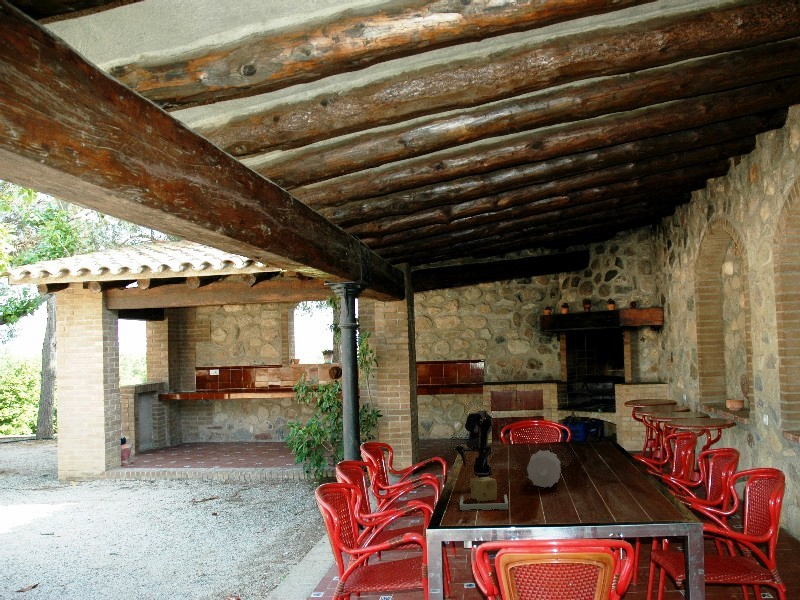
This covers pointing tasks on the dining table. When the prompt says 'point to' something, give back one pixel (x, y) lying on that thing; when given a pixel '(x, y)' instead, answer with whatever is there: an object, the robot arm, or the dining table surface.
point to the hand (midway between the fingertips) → (473, 466)
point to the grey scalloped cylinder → (544, 469)
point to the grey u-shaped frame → (484, 505)
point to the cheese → (483, 488)
